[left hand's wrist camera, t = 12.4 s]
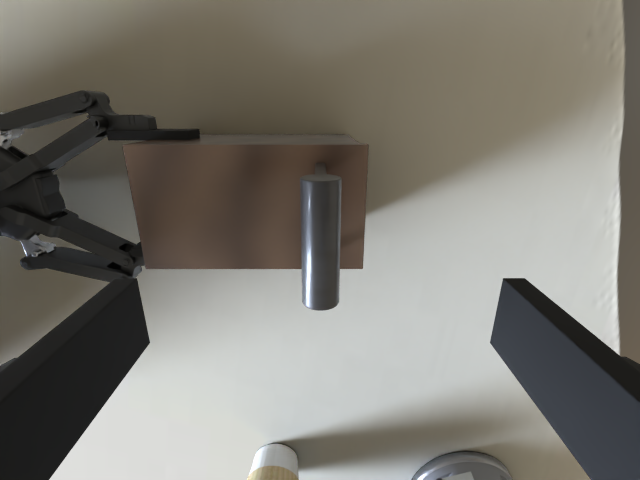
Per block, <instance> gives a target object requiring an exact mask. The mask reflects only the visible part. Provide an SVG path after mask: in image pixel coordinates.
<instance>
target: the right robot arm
mask: <svg viewBox="0 0 640 480" xmlns="http://www.w3.org/2000/svg"><path fill="white" fill-rule="evenodd" d="M109 103H110V100H109V97H108V96H107V95H106V94H105V93H103V92H94V91H78V92H75V93H71V94H68V95H65V96H61V97H58V98H55V99H51V100H48V101H45V102H41V103H38V104H35V105H31V106H28V107H25V108H21V109H18V110H14V111H11V112H0V236H7V237H10V238H12V239H14V240H17V241H20V242H21V244H22V247H23V249H24V251H25V254H26V257H24V258H22V259H21V260H20V264H21V266H22V267H23V268H24V269H27V270H32V269H43V268H48V269H53V270H57V271H62V272H66V273H71V274H75V275H80V276H84V277H89V278H93V279H98V280H102V281H107V282H112V281H113V280H114V279H115V278H135V277H136V276H137V275H138V274H140V273H141V271H142V268H141V266H145V262H144V257H143V251H142V246H141V242H139V243H138V244H137V245H136V244H134V243H132V242H130V241H128V240H125V239H123V238H121V237H119V236H117V235H115V234H112V233H110V232H108V231H106V230H104V229H101V228H99V227H97V226H95V225H93V224H91V223H88V222H86V221H84V220H82V219H80V218H79V217H78V215H77V214H75V213H73V212H71V211H69V210H67V209H64V208H66V207H65V204H64V200H63V198H62V196H61V194H60V192H59V180H58V177H57V175H54V174H53V173H52V172H54V171H55V170H57V169H59V168H60V167H62V166H63V165H65V164H66V162H67V161H69V160H70V159H72V158H73V157H75V156H77V155H78V154H80V153H81V152H83V151H84V150H86V149H88V148H89V147H91V146H92V145H94V144H96V143H97V142H99V141H100V140H102V139H104V138H105V137H107V136H108V140H192V139H196V138H200V132H199V129H157V125H156V119H155V117H153V116H150V115H119V114H116V113H115V112H114V111H113V110H112V109H111V107H110V105H109ZM84 113H88V114H89V115H88V116H87V117H90V118H89V119H87V120H86V121H84V122H83V123H81V124H80V125H78V126H76V127H75V128H73V129H72V130H70V131H69V132H67V133H66V134H64V135H63V136H61V137H60V138H58V139H56V140H55V141H53V142H52V143H50V144H49V145H47V146H46V147H44V148H43V149H41V150H39V151H38V152H36V153H35V154H32V155H27V154H25V153H24V152H22V151H21V150H19V149H17V148H16V147H14V146H12V145H11V142H12V140H13V139H15V138H19V137H20V136H21V134H23V133H24V129H28V128H36V127H40V126H43V125H47V124H50V123H54V122H57V121H61V120H64V119H67V118H71V117H74V116H78V115H81V114H84ZM40 234H43V235H45V236H48V237H58V238H61V239H63V240H65V241H67V242H70V243H72V244H74V245H76V246H79V247H81V248H83V249H85V250H88V251H90V252H92V253H89V252H85V251H80V250H76V249H72V248H66V247H56V245H55V244H54V243H47V242H43V241H41V240H40V239H39V238H38V235H40Z"/></svg>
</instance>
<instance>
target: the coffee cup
mask: <svg viewBox="0 0 640 480" xmlns="http://www.w3.org/2000/svg"><path fill="white" fill-rule="evenodd" d="M247 480H299V479H298V460H297V455H296V453H295V452H294V451H293V450H292V449H291V448H289V447H288V446H285V445H282V444H269V445H266V446H264V447H262V448H260V449H259V450H258V452H257V453H256V455H255V459H254V462H253V465H252V468H251V471H250V475H249V476H248V478H247Z"/></svg>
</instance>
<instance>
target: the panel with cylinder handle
mask: <svg viewBox="0 0 640 480" xmlns="http://www.w3.org/2000/svg"><path fill="white" fill-rule="evenodd" d="M122 146H123V151H124V156H125V162H126V167H127V172H128V178H129V183H130V188H131V193H132V199H133V204H134V209H135V215H136V220H137V225H138V230H139V236H140V241H141V246H142V251H143V257H144V262H145V267H146V269H302V302H303V304H304V305H305V306H306V307H308V308H310V309H313V310H329V309H332V308H334V307H335V306H337V304H338V303H339V277H340V269H363V254H364V232H365V211H366V189H367V168H368V147H369V145H368V144H366V143H129V144H123V145H122Z"/></svg>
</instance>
